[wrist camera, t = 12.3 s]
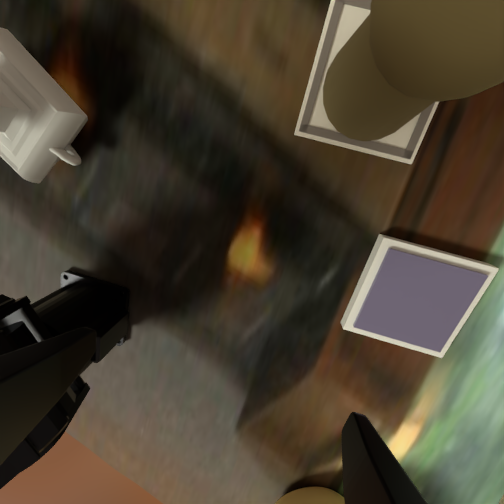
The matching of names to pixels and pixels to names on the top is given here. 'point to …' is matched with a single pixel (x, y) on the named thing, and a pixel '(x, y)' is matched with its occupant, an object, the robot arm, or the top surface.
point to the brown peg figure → (412, 62)
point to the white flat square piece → (312, 111)
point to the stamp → (34, 114)
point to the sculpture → (312, 496)
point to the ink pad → (415, 295)
